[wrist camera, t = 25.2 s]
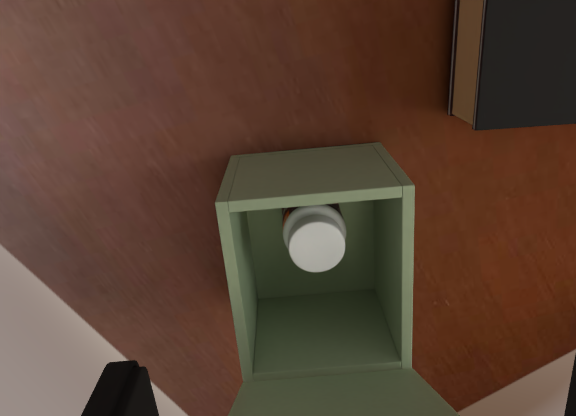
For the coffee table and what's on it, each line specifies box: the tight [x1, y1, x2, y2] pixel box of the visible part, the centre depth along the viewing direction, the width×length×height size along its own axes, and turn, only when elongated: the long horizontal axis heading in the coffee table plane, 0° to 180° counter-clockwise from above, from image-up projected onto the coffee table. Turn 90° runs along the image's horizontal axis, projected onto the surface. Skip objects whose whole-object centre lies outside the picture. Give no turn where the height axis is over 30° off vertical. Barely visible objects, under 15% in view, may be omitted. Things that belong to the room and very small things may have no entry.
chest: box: [215, 142, 415, 382], centre depth 37 cm, size 15×13×11 cm
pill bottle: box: [282, 203, 346, 272], centre depth 36 cm, size 5×5×8 cm
